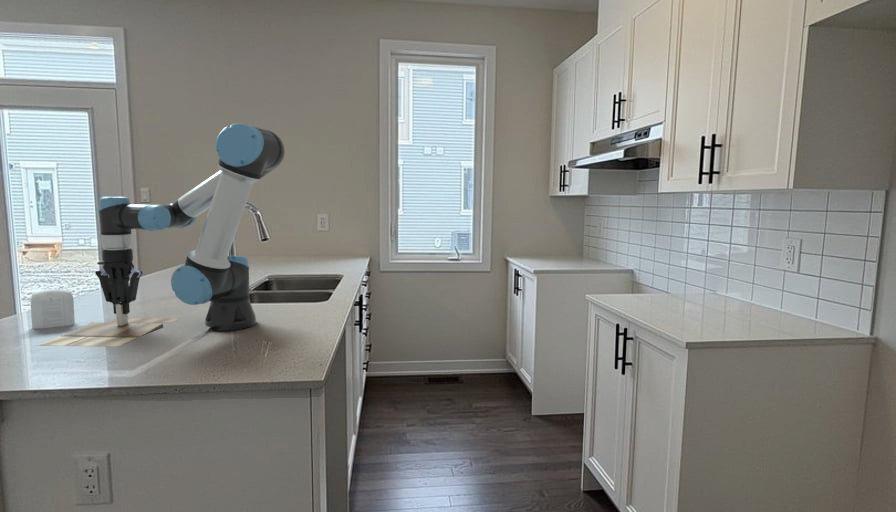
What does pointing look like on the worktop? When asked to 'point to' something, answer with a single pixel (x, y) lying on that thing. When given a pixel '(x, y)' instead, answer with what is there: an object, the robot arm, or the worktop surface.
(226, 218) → the robot arm
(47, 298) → the photo printer
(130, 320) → the plank
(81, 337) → the light wood flat board
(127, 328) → the plank
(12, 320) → the worktop surface
